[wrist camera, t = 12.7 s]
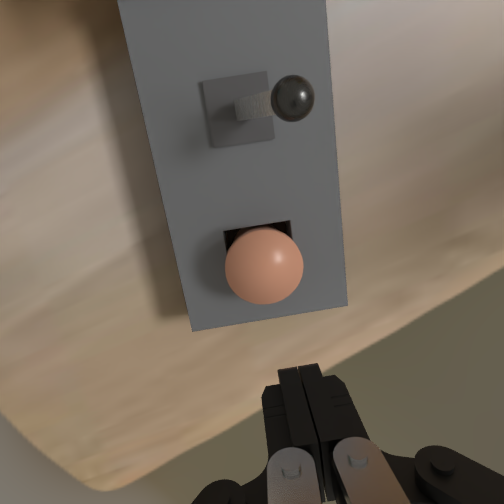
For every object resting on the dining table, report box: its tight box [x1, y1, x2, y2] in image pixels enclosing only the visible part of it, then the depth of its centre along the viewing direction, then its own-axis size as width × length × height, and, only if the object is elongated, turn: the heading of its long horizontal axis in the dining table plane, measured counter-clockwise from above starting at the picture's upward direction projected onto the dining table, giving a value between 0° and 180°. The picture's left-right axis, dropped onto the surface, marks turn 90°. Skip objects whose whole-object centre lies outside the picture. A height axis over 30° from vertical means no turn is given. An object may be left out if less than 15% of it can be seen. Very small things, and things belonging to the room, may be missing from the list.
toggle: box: [234, 75, 315, 122], centre depth 21 cm, size 2×2×6 cm
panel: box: [117, 0, 348, 332], centre depth 25 cm, size 12×30×4 cm, turn 8°
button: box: [225, 224, 303, 305], centre depth 27 cm, size 5×5×5 cm
